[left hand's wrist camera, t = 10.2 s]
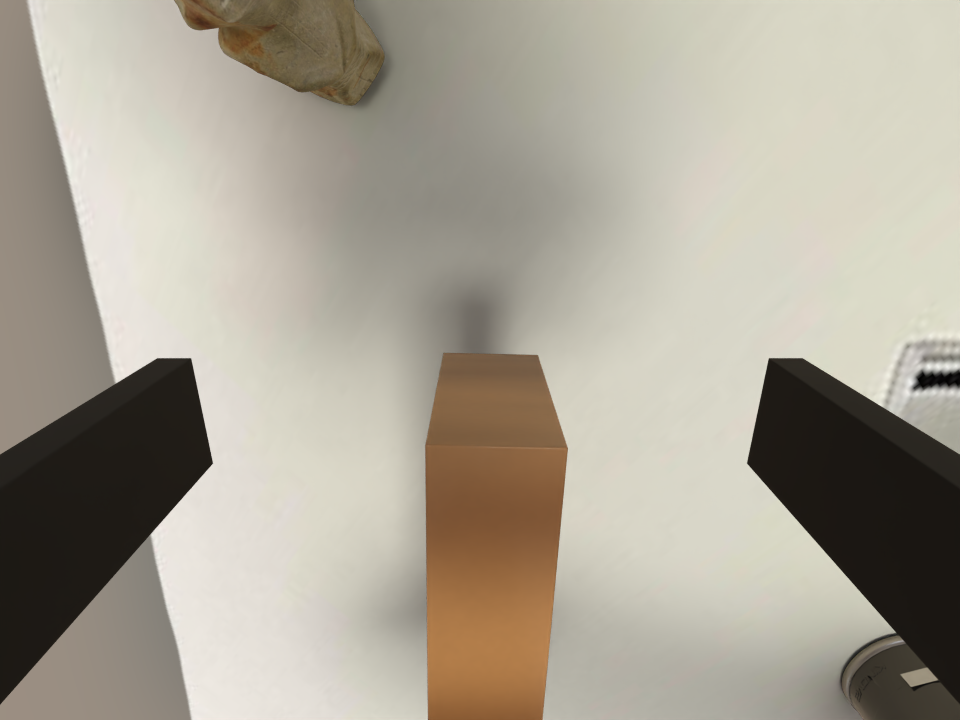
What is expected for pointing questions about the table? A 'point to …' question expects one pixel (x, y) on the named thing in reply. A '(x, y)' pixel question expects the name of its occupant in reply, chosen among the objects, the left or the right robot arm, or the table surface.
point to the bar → (491, 536)
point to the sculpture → (295, 42)
